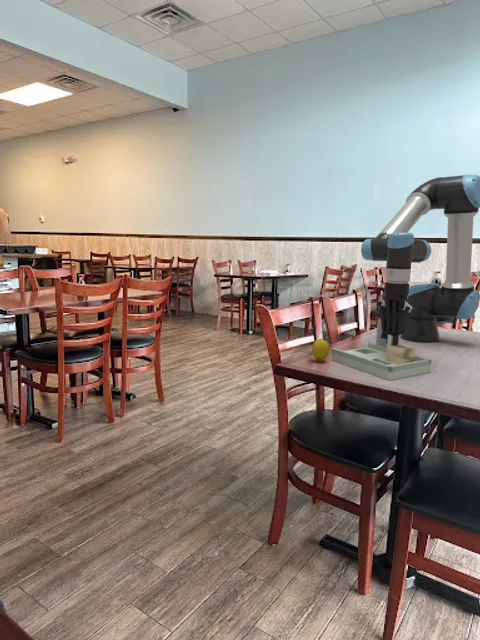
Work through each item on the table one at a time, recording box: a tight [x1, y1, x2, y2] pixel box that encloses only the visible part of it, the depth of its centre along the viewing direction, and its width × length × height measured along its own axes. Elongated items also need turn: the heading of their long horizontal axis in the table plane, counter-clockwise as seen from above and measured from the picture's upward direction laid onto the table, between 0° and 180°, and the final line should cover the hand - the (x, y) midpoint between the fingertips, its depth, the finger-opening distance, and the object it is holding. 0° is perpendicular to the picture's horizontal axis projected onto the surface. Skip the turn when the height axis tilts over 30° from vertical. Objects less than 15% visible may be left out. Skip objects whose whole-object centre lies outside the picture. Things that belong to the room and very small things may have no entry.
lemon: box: [311, 338, 330, 362], centre depth 151 cm, size 6×6×8 cm
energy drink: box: [375, 318, 387, 348], centre depth 165 cm, size 5×5×12 cm
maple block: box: [386, 343, 416, 365], centre depth 143 cm, size 6×6×5 cm
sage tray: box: [330, 342, 432, 381], centre depth 147 cm, size 18×26×4 cm
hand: (391, 354), depth 146 cm, fingers closed
